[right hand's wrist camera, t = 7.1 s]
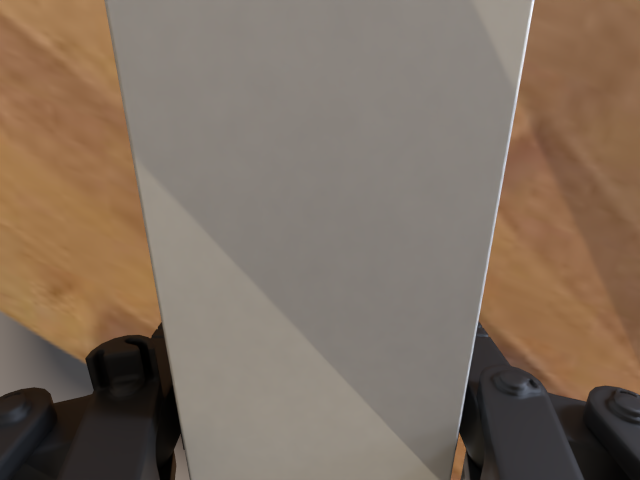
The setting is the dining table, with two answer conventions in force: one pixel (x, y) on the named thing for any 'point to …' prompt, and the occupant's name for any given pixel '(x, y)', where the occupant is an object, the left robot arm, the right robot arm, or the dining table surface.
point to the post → (319, 220)
